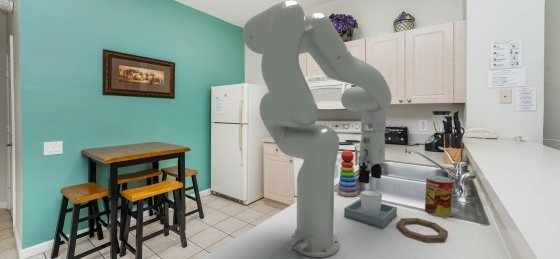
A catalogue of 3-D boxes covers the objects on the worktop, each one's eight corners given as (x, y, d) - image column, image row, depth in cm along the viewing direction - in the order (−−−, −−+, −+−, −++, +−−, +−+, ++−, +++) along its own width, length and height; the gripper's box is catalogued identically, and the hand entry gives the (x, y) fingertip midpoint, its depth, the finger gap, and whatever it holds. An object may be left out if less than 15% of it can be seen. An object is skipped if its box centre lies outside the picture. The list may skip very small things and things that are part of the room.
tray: (382, 229, 73) (383, 219, 73) (344, 216, 82) (344, 207, 81) (396, 215, 82) (396, 207, 82) (360, 205, 91) (360, 198, 91)
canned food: (421, 207, 90) (422, 175, 89) (444, 209, 88) (446, 176, 88) (430, 216, 82) (432, 181, 81) (456, 218, 81) (458, 182, 80)
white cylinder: (367, 219, 78) (367, 197, 78) (355, 210, 85) (356, 190, 84) (386, 217, 80) (386, 196, 79) (373, 208, 86) (374, 189, 86)
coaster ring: (441, 247, 63) (442, 243, 63) (391, 231, 72) (392, 227, 71) (449, 230, 72) (449, 226, 72) (404, 218, 81) (404, 214, 81)
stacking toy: (355, 191, 107) (356, 149, 106) (359, 197, 100) (360, 152, 98) (336, 190, 108) (337, 148, 107) (339, 197, 100) (340, 151, 99)
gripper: (374, 128, 71) (370, 187, 72) (394, 128, 84) (390, 178, 84) (350, 127, 76) (347, 182, 77) (372, 127, 89) (369, 174, 89)
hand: (370, 180), depth 80 cm, fingers open, 9 cm apart
